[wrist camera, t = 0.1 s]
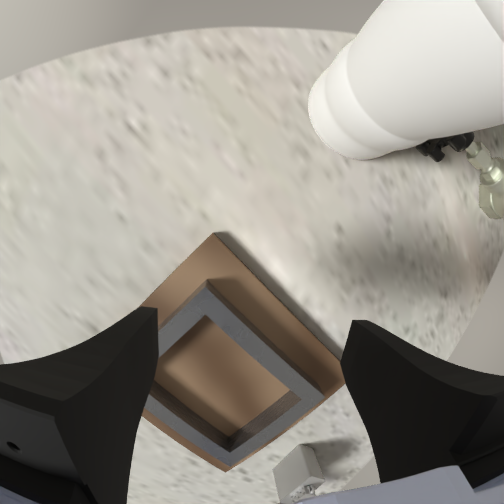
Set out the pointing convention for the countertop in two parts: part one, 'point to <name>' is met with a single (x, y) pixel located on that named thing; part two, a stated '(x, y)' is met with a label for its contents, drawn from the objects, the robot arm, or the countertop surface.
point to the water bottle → (413, 77)
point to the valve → (492, 169)
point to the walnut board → (231, 349)
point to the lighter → (298, 475)
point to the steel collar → (256, 345)
